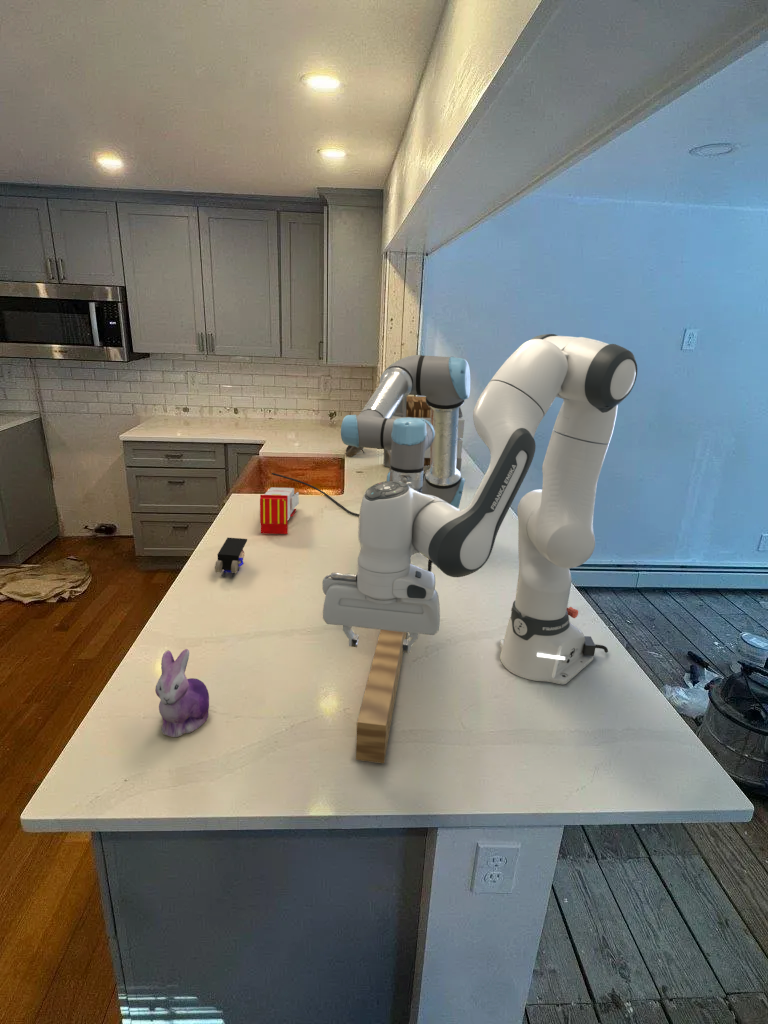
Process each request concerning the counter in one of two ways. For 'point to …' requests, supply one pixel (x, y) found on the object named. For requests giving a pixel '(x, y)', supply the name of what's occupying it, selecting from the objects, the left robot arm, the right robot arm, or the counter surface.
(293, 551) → the counter surface
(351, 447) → the fossil
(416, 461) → the left robot arm
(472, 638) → the counter surface
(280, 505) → the toy
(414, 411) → the transformer
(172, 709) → the figurine
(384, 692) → the bar
